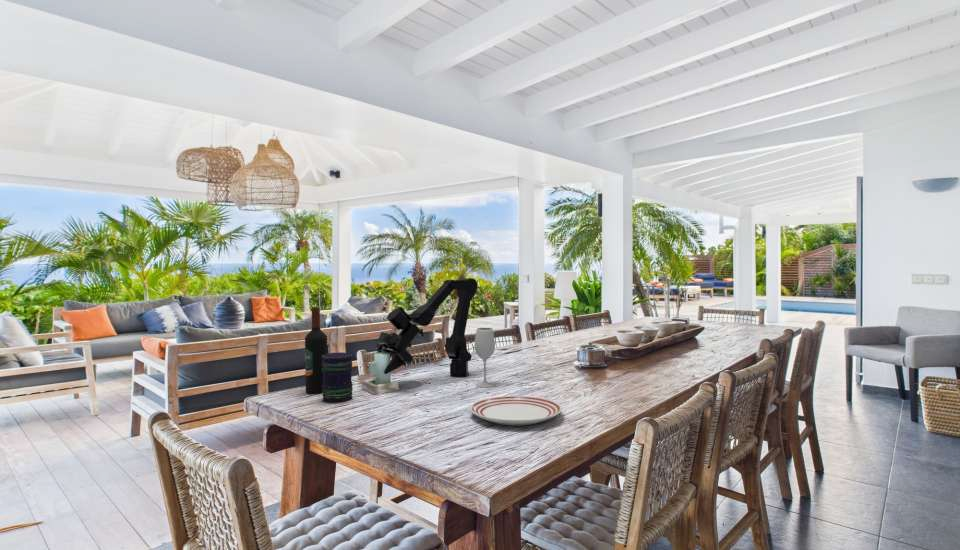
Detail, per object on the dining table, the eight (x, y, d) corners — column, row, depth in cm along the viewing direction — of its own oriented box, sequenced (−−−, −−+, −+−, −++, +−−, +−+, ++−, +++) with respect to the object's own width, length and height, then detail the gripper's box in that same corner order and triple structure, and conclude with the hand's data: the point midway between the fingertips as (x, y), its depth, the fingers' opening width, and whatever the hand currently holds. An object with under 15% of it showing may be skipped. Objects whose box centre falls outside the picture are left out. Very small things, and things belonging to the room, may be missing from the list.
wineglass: (472, 386, 188) (471, 329, 188) (478, 382, 196) (477, 327, 195) (491, 388, 186) (491, 330, 185) (497, 383, 193) (497, 327, 193)
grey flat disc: (425, 382, 196) (425, 381, 196) (416, 389, 185) (416, 388, 185) (397, 380, 198) (397, 379, 198) (387, 387, 187) (387, 386, 187)
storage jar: (345, 393, 179) (344, 351, 179) (357, 399, 172) (357, 355, 171) (317, 398, 173) (316, 354, 172) (329, 405, 165) (328, 359, 165)
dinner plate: (457, 409, 161) (457, 398, 161) (535, 400, 171) (535, 390, 171) (489, 437, 136) (489, 424, 136) (579, 425, 145) (579, 413, 145)
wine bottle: (324, 394, 179) (322, 308, 178) (302, 394, 179) (301, 308, 178) (330, 388, 186) (329, 306, 185) (310, 388, 186) (308, 306, 185)
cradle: (384, 385, 191) (384, 377, 191) (398, 390, 183) (398, 382, 183) (361, 389, 185) (361, 381, 185) (375, 395, 177) (375, 386, 177)
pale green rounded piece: (385, 386, 189) (385, 351, 188) (393, 389, 185) (393, 353, 184) (366, 390, 184) (366, 354, 184) (374, 393, 180) (373, 356, 179)
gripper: (379, 321, 194) (352, 354, 187) (405, 326, 180) (377, 361, 173) (397, 340, 199) (372, 372, 192) (424, 346, 185) (397, 381, 178)
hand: (379, 371), depth 184 cm, fingers open, 8 cm apart
